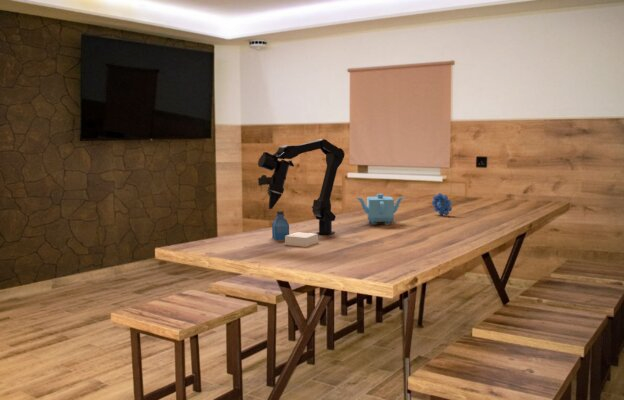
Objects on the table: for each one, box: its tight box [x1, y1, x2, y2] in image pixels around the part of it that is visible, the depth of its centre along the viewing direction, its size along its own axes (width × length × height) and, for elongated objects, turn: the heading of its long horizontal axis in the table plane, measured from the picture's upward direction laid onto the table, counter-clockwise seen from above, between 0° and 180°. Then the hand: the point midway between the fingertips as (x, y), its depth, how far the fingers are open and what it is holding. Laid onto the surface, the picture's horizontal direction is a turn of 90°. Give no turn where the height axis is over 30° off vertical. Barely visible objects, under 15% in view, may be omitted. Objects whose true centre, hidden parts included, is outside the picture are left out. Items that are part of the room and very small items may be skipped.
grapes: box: [431, 192, 453, 216], centre depth 322 cm, size 12×7×12 cm, turn 52°
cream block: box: [284, 231, 319, 248], centre depth 248 cm, size 10×10×4 cm
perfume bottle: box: [271, 210, 290, 241], centre depth 259 cm, size 6×6×12 cm
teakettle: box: [355, 193, 406, 226], centre depth 299 cm, size 19×19×15 cm
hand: (270, 208), depth 255 cm, fingers open, 9 cm apart
